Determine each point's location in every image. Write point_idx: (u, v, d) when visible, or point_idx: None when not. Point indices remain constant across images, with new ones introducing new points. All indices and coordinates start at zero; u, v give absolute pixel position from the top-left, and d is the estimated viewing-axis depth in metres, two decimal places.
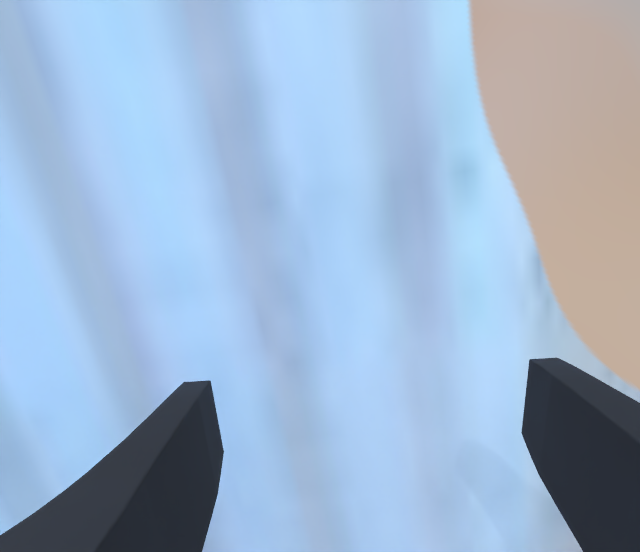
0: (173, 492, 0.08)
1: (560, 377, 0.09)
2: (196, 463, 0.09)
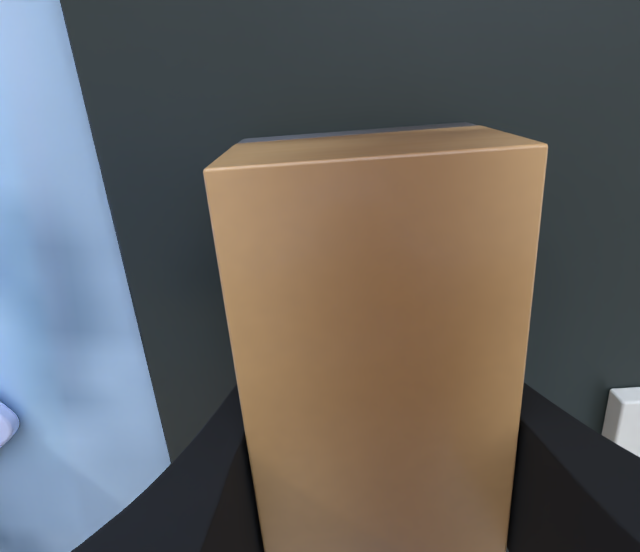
0: (246, 487, 0.08)
1: None
2: None
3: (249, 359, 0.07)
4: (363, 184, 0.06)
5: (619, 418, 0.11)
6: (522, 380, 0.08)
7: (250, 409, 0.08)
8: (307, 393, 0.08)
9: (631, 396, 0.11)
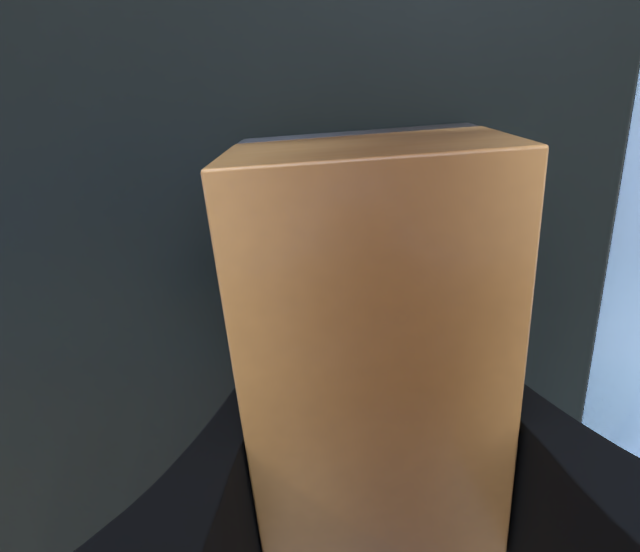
0: (248, 487, 0.08)
1: None
2: None
3: (247, 361, 0.07)
4: (362, 186, 0.06)
5: None
6: (522, 383, 0.07)
7: (248, 411, 0.08)
8: (305, 395, 0.08)
9: None
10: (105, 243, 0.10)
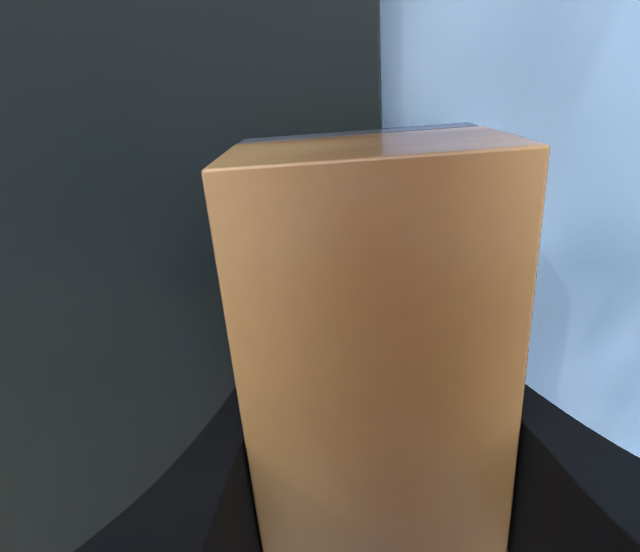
0: (248, 488, 0.08)
1: None
2: None
3: (248, 361, 0.07)
4: (362, 185, 0.06)
5: None
6: (523, 383, 0.07)
7: (249, 411, 0.08)
8: (306, 395, 0.08)
9: None
10: None
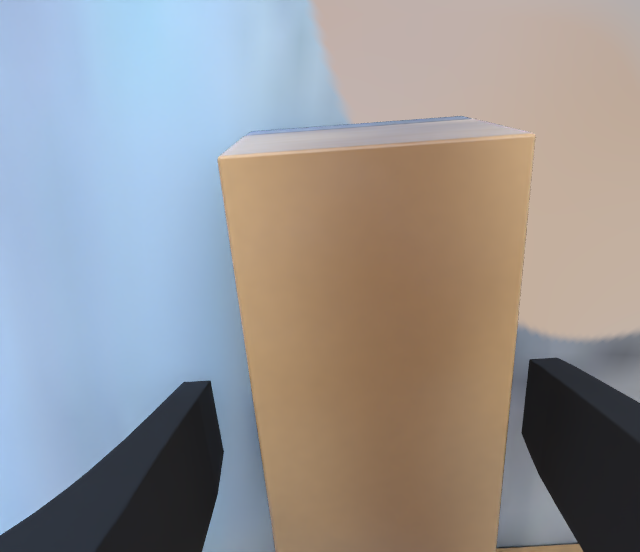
0: (173, 492, 0.08)
1: (560, 377, 0.09)
2: (196, 463, 0.09)
3: (258, 335, 0.08)
4: (366, 171, 0.07)
5: None
6: (513, 356, 0.08)
7: (259, 383, 0.08)
8: (312, 368, 0.08)
9: None
10: None
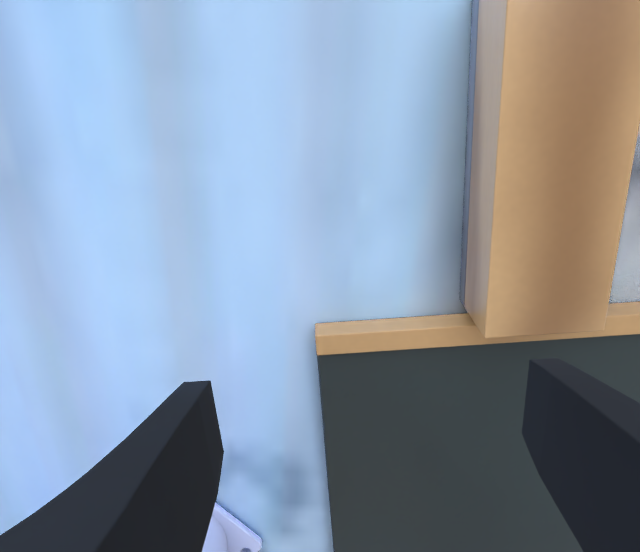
0: (173, 492, 0.08)
1: (560, 377, 0.09)
2: (196, 463, 0.09)
3: (510, 78, 0.15)
4: None
5: None
6: None
7: (504, 111, 0.15)
8: (535, 100, 0.15)
9: None
10: (510, 466, 0.24)
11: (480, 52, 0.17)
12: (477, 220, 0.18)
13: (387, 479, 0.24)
